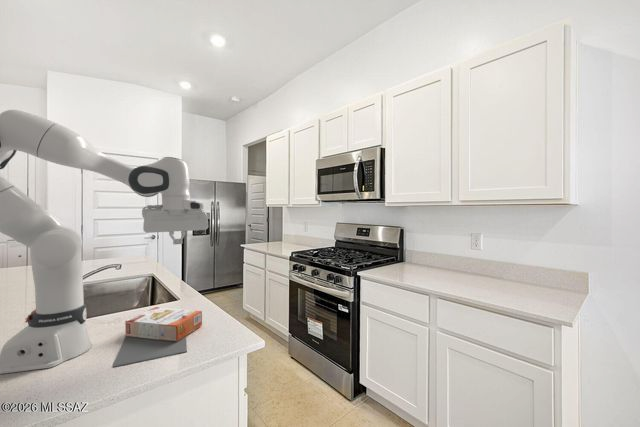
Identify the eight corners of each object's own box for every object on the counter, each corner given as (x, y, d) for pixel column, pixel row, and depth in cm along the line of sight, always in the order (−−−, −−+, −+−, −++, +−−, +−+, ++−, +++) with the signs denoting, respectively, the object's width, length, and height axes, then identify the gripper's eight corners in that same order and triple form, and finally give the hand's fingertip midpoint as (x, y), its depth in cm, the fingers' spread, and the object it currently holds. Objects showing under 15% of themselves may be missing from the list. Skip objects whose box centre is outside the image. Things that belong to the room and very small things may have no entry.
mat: (113, 367, 81) (112, 366, 81) (126, 335, 101) (126, 334, 101) (186, 352, 90) (186, 351, 90) (185, 325, 109) (185, 324, 109)
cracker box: (177, 324, 95) (123, 320, 99) (177, 342, 95) (124, 337, 99) (202, 309, 109) (154, 306, 113) (202, 325, 109) (155, 321, 113)
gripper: (140, 205, 93) (142, 247, 93) (208, 204, 101) (209, 243, 102) (143, 205, 98) (144, 245, 99) (206, 204, 107) (208, 241, 108)
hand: (177, 244), depth 101 cm, fingers closed
